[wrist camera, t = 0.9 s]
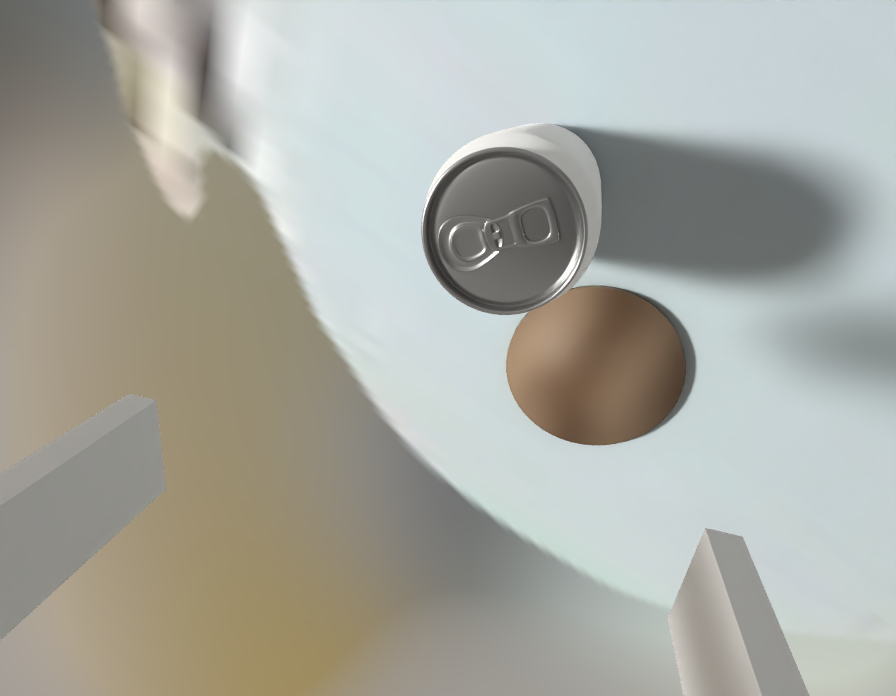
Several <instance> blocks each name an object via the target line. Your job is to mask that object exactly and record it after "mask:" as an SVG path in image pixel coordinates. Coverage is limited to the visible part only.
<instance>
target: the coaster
mask: <svg viewBox="0 0 896 696" xmlns="http://www.w3.org/2000/svg"><path fill="white" fill-rule="evenodd" d="M506 372H507V378H508V383H509V386H510V390H511V392H512V394H513V396H514V399H515V400H516V402H517V404H518V405H519V407H520V408H521V410H522V411H523V412H524V413H525V414H526V416H527V417H528V418H529V419H531V420H532V421H533V422H534V423H535V424H536V425H538V426H539V427H540V428H542V429H543V430H545V431H546V432H548V433H550V434H552V435H554V436H556V437H558V438H561V439H564V440H567V441H570V442H574V443H579V444H585V445H609V444H616V443H621V442H625V441H628V440H631V439H634V438H636V437H638V436H640V435H642V434H644V433H646V432H648V431H649V430H651V429H652V428H654V427H655V426H657V425H658V424H659V423H660V422H661V421H662V420H664V418H665V417H666V416H667V415H668V414H669V413H670V412H671V410H672V409H673V407H674V406H675V404H676V403H677V401H678V398H679V396H680V394H681V391H682V388H683V385H684V380H685V373H686V370H685V357H684V351H683V348H682V345H681V342H680V339H679V337H678V335H677V333H676V331H675V329H674V327H673V325H672V324H671V323H670V321H669V320H668V319H667V317H666V316H665V315H664V314H663V313H662V312H661V311H660V310H659V309H658V308H657V307H655V306H654V305H653V304H651V303H650V302H649V301H647V300H645V299H644V298H642V297H640V296H638V295H636V294H634V293H631V292H629V291H626V290H622V289H619V288H615V287H608V286H581V287H576V288H571V289H569V290H568V291H567V292H566V293H564V294H563V295H562V296H560V297H558V298H557V299H555V300H553V301H551V302H549V303H547V304H545V305H544V306H542V307H540V308H537V309H535V310H532V311H529V312H528V313H527V315H526V316H525V317H524V318H523V319H522V320H521V322H520V324H519V325H518V327H517V328H516V330H515V333H514V335H513V337H512V339H511V342H510V345H509V349H508V353H507V361H506Z"/></svg>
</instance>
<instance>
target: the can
mask: <svg viewBox="0 0 896 696" xmlns="http://www.w3.org/2000/svg"><path fill="white" fill-rule="evenodd" d="M601 217H602V196H601V178H600V172H599V168H598V165H597V162H596V160H595V157H594V155H593V154H592V152H591V150H590V149H589V147H588V146H587V145H586V144H585V143H584V142H583V140H581V139H580V138H579V137H578V136H577V135H575V134H574V133H572V132H571V131H569V130H567V129H565V128H563V127H560V126H557V125H553V124H546V123H534V124H527V125H522V126H517V127H513V128H509V129H505V130H501V131H497V132H493V133H490V134H487V135H484V136H482V137H479V138H477V139H475V140H473V141H471V142H469V143H468V144H466V145H464V146H463V147H462V148H460V149H459V150H458V151H456V152H455V153H454V154H453V155H452V156H451V157H450V158H449V159H448V160H447V161H446V162H445V163H444V165H443V166H442V167H441V168H440V170H439V171H438V173H437V175H436V176H435V178H434V180H433V182H432V184H431V186H430V189H429V191H428V194H427V198H426V202H425V207H424V212H423V217H422V228H421V232H422V243H423V248H424V252H425V256H426V259H427V261H428V264H429V266H430V268H431V270H432V272H433V274H434V275H435V277H436V278H437V280H438V281H439V282H440V284H441V285H442V286H443V287H444V288H445V289H446V290H447V291H448V292H449V293H450V294H451V295H452V296H453V297H455V298H456V299H457V300H459V301H460V302H462V303H464V304H465V305H467V306H469V307H471V308H474V309H476V310H479V311H482V312H486V313H491V314H498V315H513V314H520V313H525V312H529V311H532V310H535V309H537V308H540V307H542V306H544V305H545V304H547V303H549V302H551V301H553V300H555V299H557V298H558V297H560V296H562V295H563V294H564V293H566V292H567V291H568V290H569V289H570V288H572V287H573V286H574V285H575V284H576V282H577V281H578V280H579V279H580V278H581V277H582V275H583V274H584V272H585V271H586V269H587V268H588V266H589V264H590V262H591V260H592V258H593V256H594V254H595V251H596V248H597V245H598V241H599V236H600V230H601Z"/></svg>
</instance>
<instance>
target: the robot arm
mask: <svg viewBox="0 0 896 696" xmlns="http://www.w3.org/2000/svg"><path fill="white" fill-rule="evenodd" d="M165 490H166V486H165V477H164V467H163V458H162V448H161V438H160V429H159V420H158V410H157V401H156V400H153V399H149V398H144V397H140V396H136V395H132V394H128V395H126V396H125V397H123V398H121V399H120V400H118V401H116V402H115V403H113V404H112V405H110V406H108V407H107V408H105V409H104V410H102V411H100V412H99V413H97V414H95V415H94V416H92V417H91V418H89V419H87V420H86V421H84V422H83V423H81V424H79V425H78V426H76V427H74V428H73V429H71V430H70V431H68V432H66V433H65V434H63V435H62V436H60V437H58V438H57V439H55V440H53V441H52V442H50V443H49V444H47V445H45V446H44V447H42V448H41V449H39V450H37V451H36V452H34V453H33V454H31V455H29V456H28V457H26V458H24V459H23V460H21V461H19V462H18V463H16V464H15V465H13V466H11V467H10V468H8V469H7V470H5V471H3V472H2V473H0V640H1V639H2V638H4V637H5V636H6V635H7V634H8V633H9V632H10V631H11V630H12V629H13V628H14V627H15V626H17V625H18V624H19V623H20V622H21V621H22V620H23V619H24V618H25V617H27V616H28V615H29V614H30V613H31V612H32V611H33V610H34V609H35V608H36V607H37V606H39V605H40V604H41V603H42V602H43V601H44V600H45V599H46V598H47V597H48V596H50V595H51V594H52V593H53V592H54V591H55V590H56V589H57V588H58V587H59V586H60V585H62V584H63V583H64V582H65V581H66V580H67V579H68V578H69V577H70V576H71V575H73V573H75V572H76V571H77V570H78V569H79V568H80V567H81V566H82V565H83V564H85V562H87V561H88V560H89V559H90V558H91V557H92V556H93V555H94V554H95V553H97V552H98V550H100V549H101V548H102V547H103V546H104V545H105V544H106V543H108V542H109V541H110V540H111V539H112V538H113V537H114V536H115V535H116V534H117V533H118V532H120V531H121V530H122V529H123V528H124V527H125V526H126V525H127V524H128V523H129V522H130V521H131V520H133V519H134V518H135V517H136V516H137V515H138V514H139V513H140V512H142V511H143V510H144V509H145V508H146V507H147V506H148V505H149V504H150V503H151V502H152V501H153V500H155V499H156V498H157V497H158V496H159V495H160V494H161V493H162V492H163V491H165ZM668 621H669V626H670V631H671V636H672V641H673V646H674V651H675V656H676V661H677V666H678V671H679V676H680V681H681V686H682V691H683V695H684V696H809V694H808V691H807V689H806V686H805V684H804V682H803V679H802V677H801V675H800V672H799V670H798V667H797V665H796V663H795V661H794V658H793V656H792V653H791V651H790V649H789V646H788V644H787V642H786V639H785V637H784V634H783V632H782V629H781V627H780V625H779V622H778V620H777V618H776V615H775V613H774V610H773V608H772V606H771V603H770V601H769V599H768V596H767V594H766V592H765V589H764V587H763V584H762V582H761V580H760V577H759V575H758V573H757V570H756V568H755V565H754V563H753V561H752V558H751V556H750V554H749V551H748V549H747V546H746V544H745V542H744V539H743V537H741V536H737V535H733V534H728V533H724V532H720V531H716V530H711V529H707V528H705V530H704V532H703V535H702V537H701V540H700V542H699V544H698V547H697V549H696V552H695V554H694V556H693V559H692V561H691V564H690V566H689V568H688V571H687V573H686V576H685V578H684V581H683V583H682V585H681V588H680V590H679V593H678V595H677V597H676V600H675V602H674V605H673V607H672V609H671V612H670V614H669V617H668Z"/></svg>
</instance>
